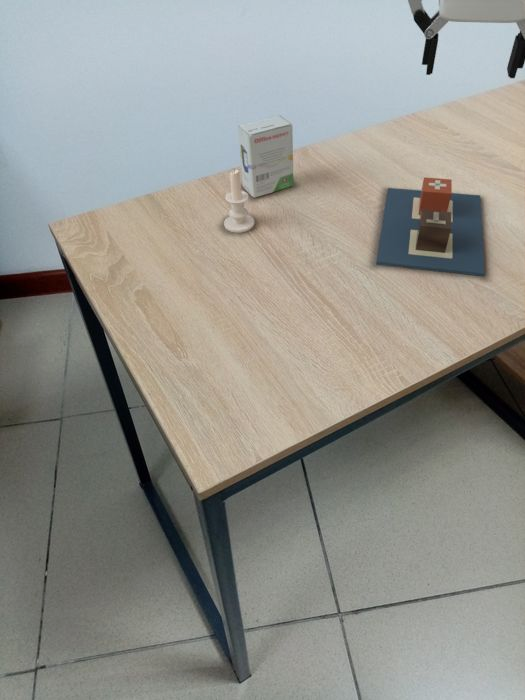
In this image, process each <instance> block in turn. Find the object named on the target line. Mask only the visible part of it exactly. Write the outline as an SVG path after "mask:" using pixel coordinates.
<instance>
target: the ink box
mask: <svg viewBox="0 0 525 700" xmlns="http://www.w3.org/2000/svg"><path fill="white" fill-rule="evenodd" d="M237 130H238V131H237V132H238V144H239V154H240V155H239V156H240V167H241V169H240V170H241V182H242V183H241V184H242V185H241V186H242V188H244V190H245V191H246V192H247V193H248V195H250V196H251V197H253V198H254V199H255V198H258V197H261V196H265V195H268V194H271V193H274V192H278V191H282V190H284V189H288V188H291V187H294V143H293V141H294V139H293V137H294V135H293V123H291V121H289V120H288V119H286V118H285V117H283V116H282V115H276V116H271V117H267V118H263V119H259V120H255V121H251V122H246V123H242V124H239V125H238V126H237Z"/></svg>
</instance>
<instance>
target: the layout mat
mask: <svg viewBox="0 0 525 700" xmlns="http://www.w3.org/2000/svg"><path fill="white" fill-rule="evenodd" d="M420 196H421V190H419V189H405V188H396V187H387V191H386V197H385V204H384V210H383V216H382V223H381V229H380V235H379V243H378V248H377V255H376V261H375V265H378V266H387V267H398V268H406V269H415V270H422V271H431V272H432V271H434V272H442V273H450V274H451V273H452V274H461V275H468V276H470V275H471V276H476V277H477V276H478V277H485V274H486V268H485V267H486V266H485V253H484V252H485V250H484V236H483V220H482V203H481V195H480V194H479V195H478V194H469V193H468V194H467V193H457V192H456V193H455V192H452V194H451V198H450V202H449V206H448V210H447V212H451V231H450V235H449V239H448V243H447V247H446V251H445V253H441V252H431V251H421V250H415V249H416V237H417V230H418V225H419V220H420V215H418V214H419V201H420Z"/></svg>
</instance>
